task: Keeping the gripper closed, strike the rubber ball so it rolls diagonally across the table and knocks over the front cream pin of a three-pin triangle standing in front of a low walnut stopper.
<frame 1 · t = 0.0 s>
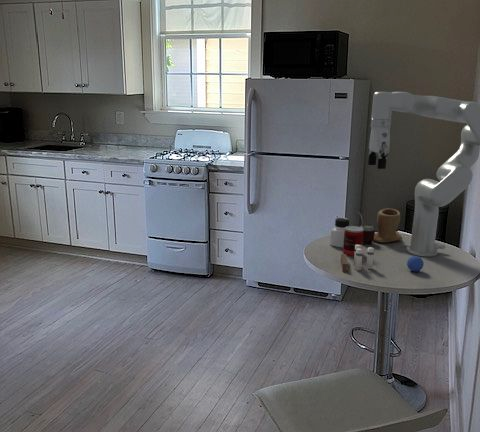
hand: (376, 166, 206), 37 cm above the table, tool pointing down, fingers open, 9 cm apart
ball: (415, 263, 195), on the table
mate gourd: (364, 243, 229), on the table
front pin: (369, 267, 197), on the table
back pin left: (357, 269, 195), on the table
canned food: (351, 254, 214), on the table
stopper wall: (344, 266, 198), on the table
medicine bottle: (340, 245, 226), on the table
back pin right: (356, 264, 200), on the table
stone cup: (387, 241, 234), on the table
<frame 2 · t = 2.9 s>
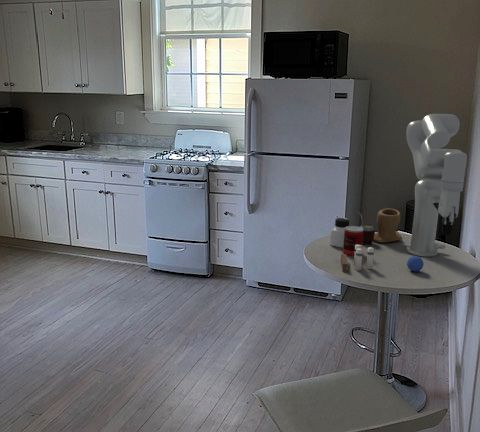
hand: (445, 234, 190), 15 cm above the table, tool pointing down, fingers closed
nothing on the table moved.
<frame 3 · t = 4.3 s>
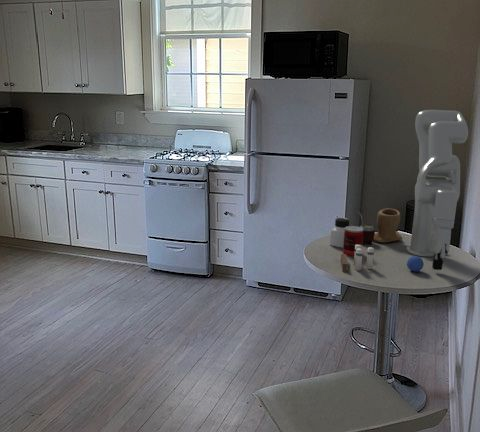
hand: (436, 268, 194), 2 cm above the table, tool pointing down, fingers closed
nothing on the table moved.
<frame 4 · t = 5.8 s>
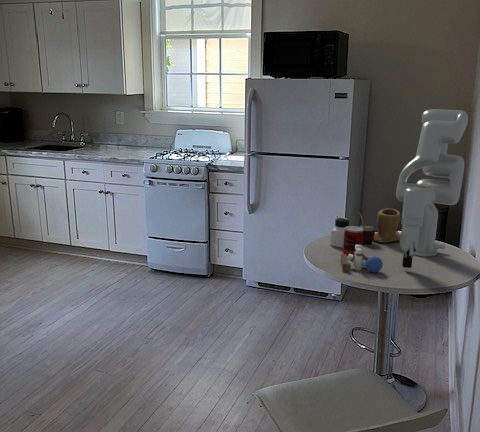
hand: (406, 266, 195), 2 cm above the table, tool pointing down, fingers closed
ball: (374, 264, 193), on the table
front pin: (367, 265, 197), point 1 cm above the table, tilted 68°, touching stopper wall
everything else where it was.
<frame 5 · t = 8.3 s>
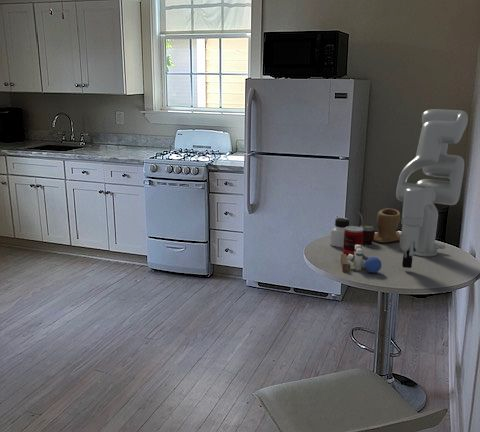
hand: (406, 266, 195), 2 cm above the table, tool pointing down, fingers closed
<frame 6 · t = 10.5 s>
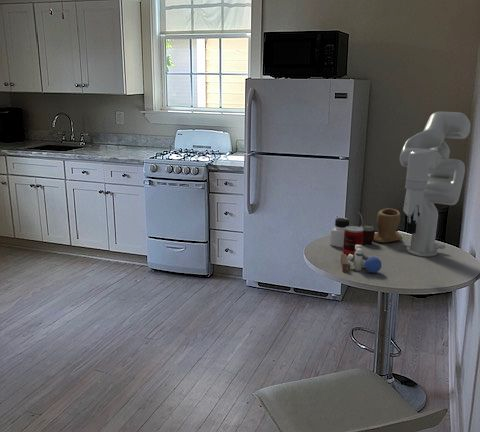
hand: (410, 232, 192), 15 cm above the table, tool pointing down, fingers closed
nothing on the table moved.
at the end: front pin tilted 68°; front pin never touched the robot; ball moved 16.9 cm from its start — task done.
